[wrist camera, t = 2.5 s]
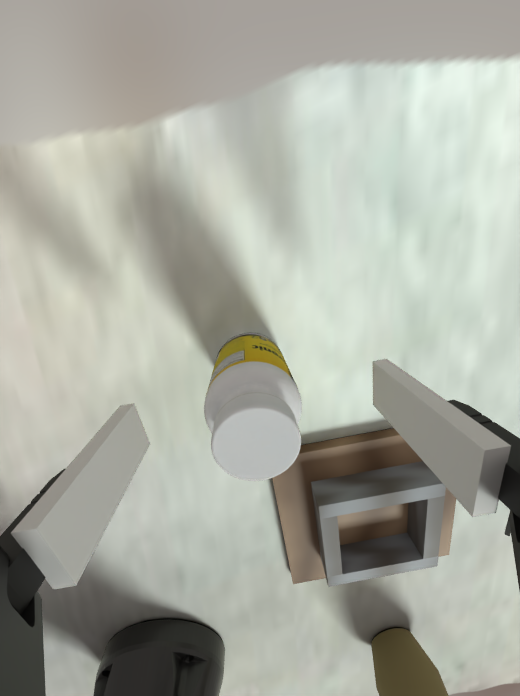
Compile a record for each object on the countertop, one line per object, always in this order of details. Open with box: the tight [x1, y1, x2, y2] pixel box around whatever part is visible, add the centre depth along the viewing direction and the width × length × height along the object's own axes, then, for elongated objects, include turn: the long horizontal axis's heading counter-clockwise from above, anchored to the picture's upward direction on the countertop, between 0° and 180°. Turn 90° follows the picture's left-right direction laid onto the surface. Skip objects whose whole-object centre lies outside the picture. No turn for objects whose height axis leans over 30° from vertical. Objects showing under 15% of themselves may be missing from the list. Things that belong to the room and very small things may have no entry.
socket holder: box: [272, 428, 456, 587], centre depth 24 cm, size 18×18×4 cm
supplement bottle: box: [204, 333, 302, 481], centre depth 15 cm, size 5×5×10 cm
